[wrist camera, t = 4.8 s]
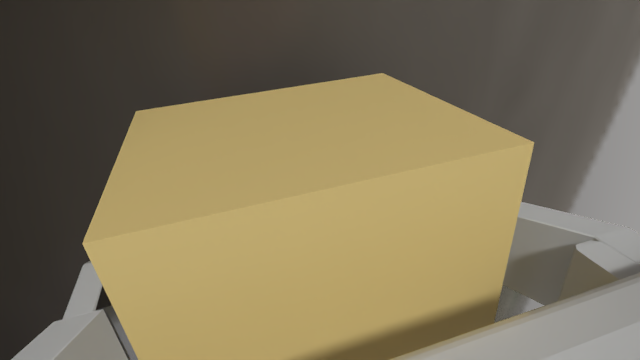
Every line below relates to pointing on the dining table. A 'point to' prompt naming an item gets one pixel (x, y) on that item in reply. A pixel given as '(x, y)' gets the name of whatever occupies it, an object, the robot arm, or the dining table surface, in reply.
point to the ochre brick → (307, 223)
